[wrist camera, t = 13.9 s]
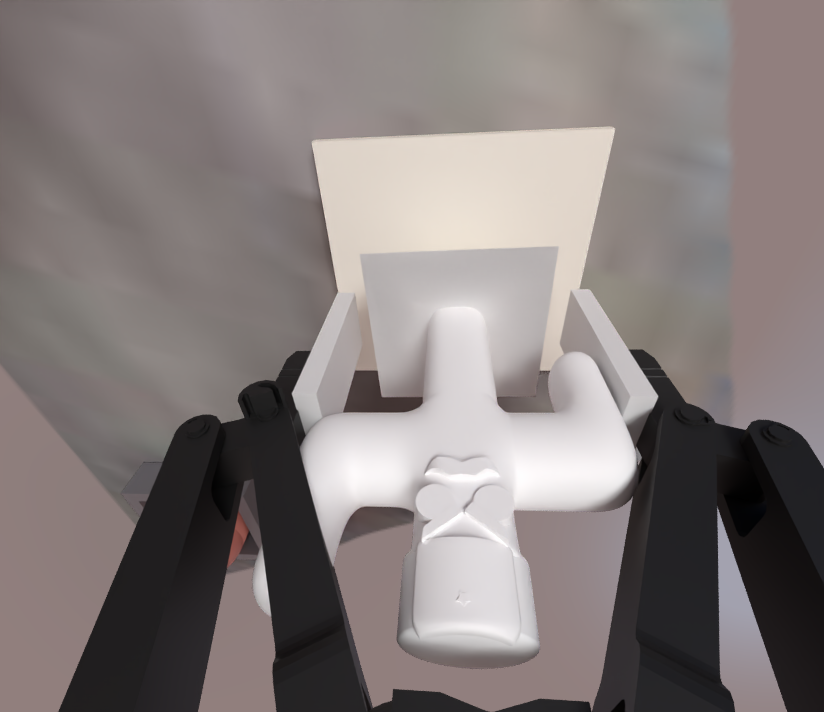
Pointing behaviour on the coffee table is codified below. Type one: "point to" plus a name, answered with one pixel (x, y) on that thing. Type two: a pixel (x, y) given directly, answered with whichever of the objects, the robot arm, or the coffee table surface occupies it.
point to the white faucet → (467, 445)
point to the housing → (148, 472)
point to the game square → (463, 203)
